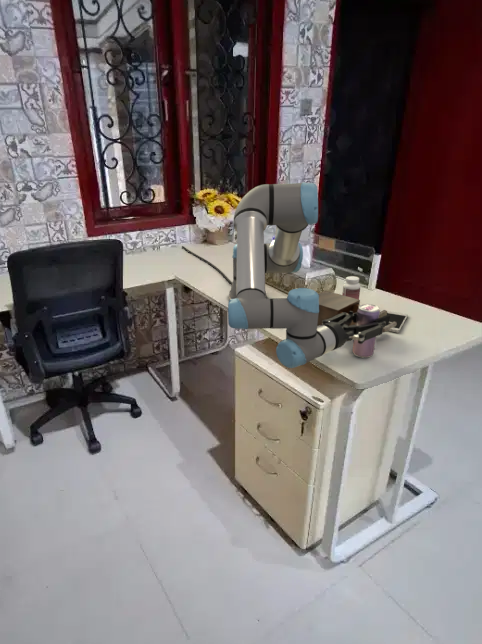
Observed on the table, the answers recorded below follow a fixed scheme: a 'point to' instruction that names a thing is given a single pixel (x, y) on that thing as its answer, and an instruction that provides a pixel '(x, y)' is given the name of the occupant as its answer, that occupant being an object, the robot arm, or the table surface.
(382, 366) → the table surface
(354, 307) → the drawer
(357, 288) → the pill bottle
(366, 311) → the beverage can
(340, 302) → the cabinet
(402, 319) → the smartphone
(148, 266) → the table surface
